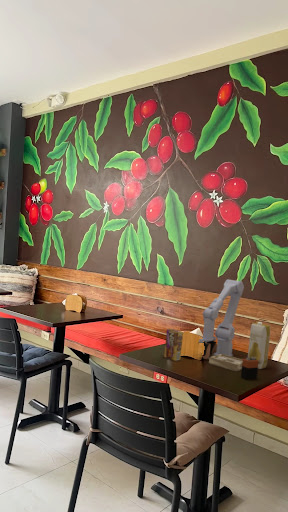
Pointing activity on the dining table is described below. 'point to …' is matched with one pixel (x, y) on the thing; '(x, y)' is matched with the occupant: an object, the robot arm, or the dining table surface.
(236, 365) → the tray
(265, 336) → the juice carton
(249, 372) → the battery
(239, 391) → the dining table surface
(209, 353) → the peg
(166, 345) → the candy box
